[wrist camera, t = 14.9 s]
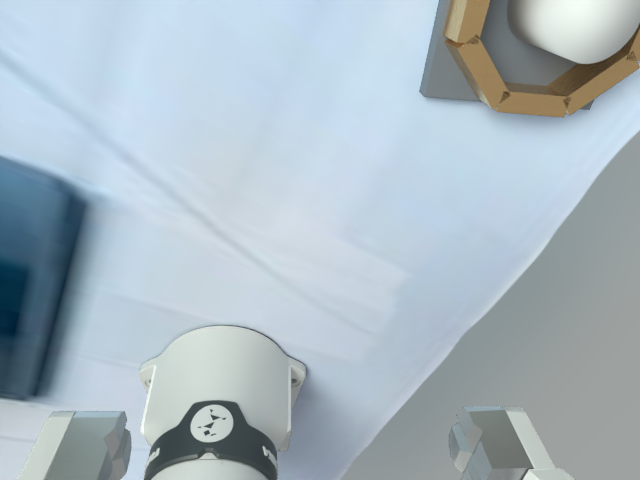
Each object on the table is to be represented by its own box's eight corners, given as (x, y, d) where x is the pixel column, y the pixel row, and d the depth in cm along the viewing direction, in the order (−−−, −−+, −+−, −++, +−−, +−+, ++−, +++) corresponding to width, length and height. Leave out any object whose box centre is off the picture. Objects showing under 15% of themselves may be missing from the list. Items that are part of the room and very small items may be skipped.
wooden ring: (592, 109, 36) (616, 121, 34) (428, 95, 35) (440, 107, 32) (687, -105, 29) (726, -110, 26) (483, -138, 27) (504, -146, 25)
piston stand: (579, 104, 38) (649, 141, 31) (419, 91, 36) (454, 127, 29) (665, -104, 30) (784, -118, 23) (467, -132, 28) (531, -158, 21)
